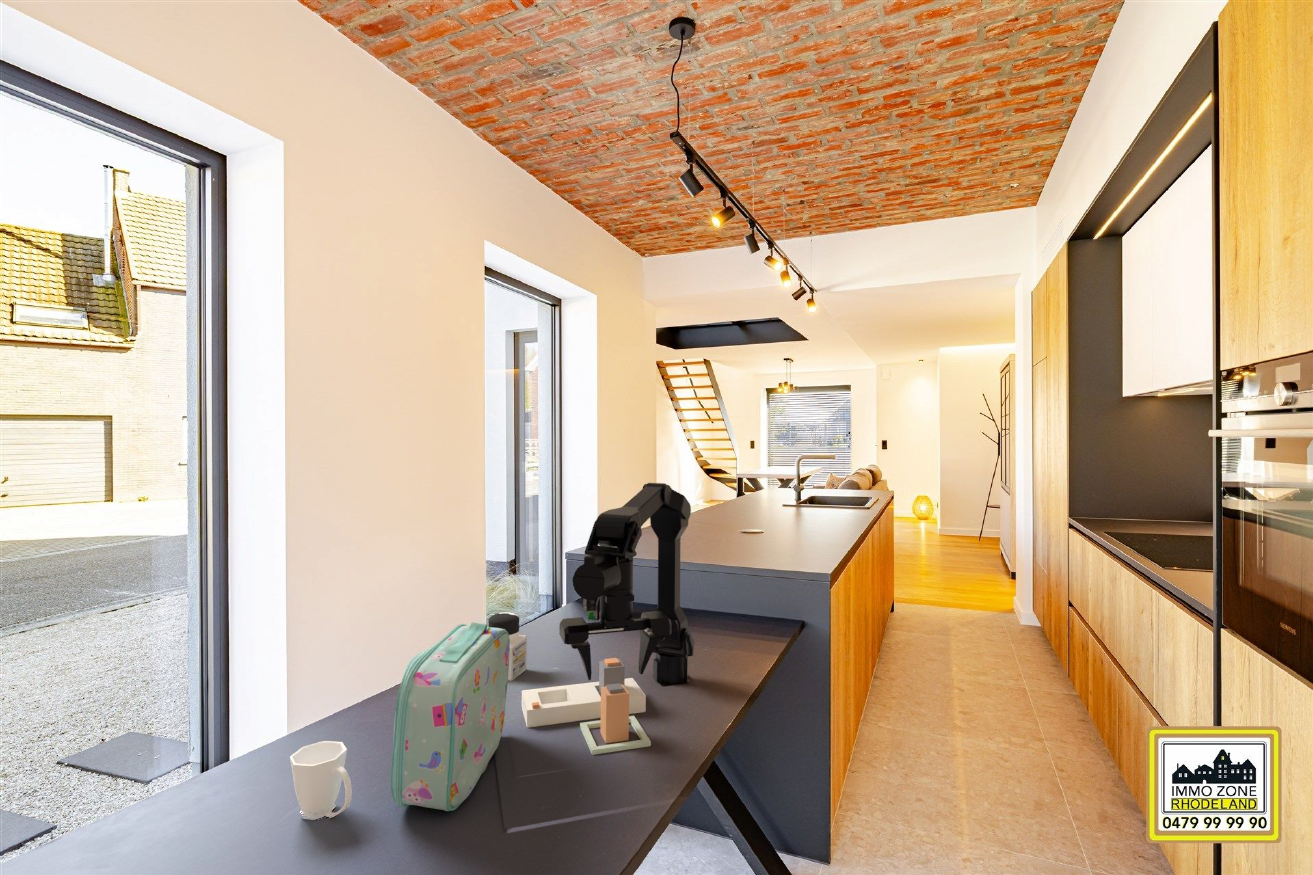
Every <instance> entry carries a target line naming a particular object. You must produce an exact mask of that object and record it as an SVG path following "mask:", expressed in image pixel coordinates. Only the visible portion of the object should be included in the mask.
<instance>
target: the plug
mask: <svg viewBox="0 0 1313 875" xmlns="http://www.w3.org/2000/svg"><path fill="white" fill-rule="evenodd" d="M629 716H630V714H629V692H628V691H627V689H626V688H625V686H624V685H623V684H622V685H621V684H620V683H617V684H609V685H607V686H605V687H601V718H600V720H601V721H600V727H599V728H600V732H599V733H600V735H601V737H602V739H603V741H604V743H605V744H613V743H618V742H619V743H620V742H624V741H625V742H627V741H629V739H630V738H629V735H630V733H629V732H630V730H629V729H630V723H629Z"/></svg>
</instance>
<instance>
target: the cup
mask: <svg viewBox="0 0 1313 875" xmlns="http://www.w3.org/2000/svg"><path fill="white" fill-rule="evenodd" d="M347 751H348V748H347V747H346V745H344V742H343V741H331V740H330V741H329V740H322V741H318V742H315V743H312V744H308V745H304V746H302V747H300V748H299V749H298V750H297V751H295V752H294V753H293V754H291V755H290V756H289V761H290V767H291V772H292V778H293V779H292V780H293V786H294V792H295V795H296V798H297V803H298V805H299V808H300V811H299V814H300V813H301V812H302V813H301V814H304V815H302V816H307V817H306V818H318V817H321V816H327V817H329V818H328V819H331V818H334V817H335V816H337V815H340V814H341V813H342V812H344V811H345V810H347V809H348V807H349V806H350V805H351V802H352V798H353V792H352V790H353V788H352V781H351V777H350V775H349V773H348V770H346V768H345V763H346V759H347V753H348V752H347ZM342 782H343V785H344V794H345V796H344V797H345V800H344V804H343V806H341V808H340V809H339V810H338V811H335V812H331V811H332V810H333V809H334V808H335V807H337V805H336V804H335V802H336V801H337V800H338V796H339V793H340V789H341V786H342ZM309 812H311V813H309ZM304 818H305V817H304Z"/></svg>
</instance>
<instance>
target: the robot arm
mask: <svg viewBox="0 0 1313 875" xmlns="http://www.w3.org/2000/svg"><path fill="white" fill-rule="evenodd" d="M691 512H692V508H691V504H690V501H689V500H688V499H687V497H686V496H685V495H684V494H681V493H680V492H678V491H676V490H674V489H673V488H672V486H670V484H667V483H663V482H661V483H660V482H648V483H645V484H644V485H643V487H642V489H640V491H638V492H637V493H636V494H635V495H634V496H633V497H632V498H631V499H630V500H628V501H627V502H626V503H625V504H624V505H622V506H621V507H618V508H617V507H616V508H611V509H607V510H606V511H603V512H602V513H600V514H599V515H598V516H597V517H596V519H595V521H594V522H593V525H592V526H593V527H592V528H591V532H590V535H589V537H588V540H587V543H586V547H585V550H584V555H585V556H584V557H583V564H581V565H579V566H578V567H577V568H576V569H575V571H574V573H573V576H572V586H573V590H574V591H575V592H576V594H577V596H579V597H580V598H582V600H583V601H582V605H583V608H582V609H583V612H584V613H588V612H594V617H596V619H595V620H598V622H596V621H595V622H586V620H585V619H584V617H569V618H568V617H567V618H562V619H561V621H560V622H559V631H558V632H559V636H560V639H561V640H562V642H563V644H565V645H568V646H569V645H570V648H572V649H575V650H576V649H577V651H578V654H579V655H580V659H581V662H582V665H583V669H584V672H585V675H586V678H587V681H591V680H592V672H593V671H592V660H591V659H592V658H591V657H592V656H591V644H590V643H589V641H588V639H589V637H590V636H591V635H599V634H601V635H602V634H611V633H612V634H613V633H623V632H634V631H639V638H640V640H639V641H640V642H639V643H640V644H639V652H638V653H639V654H638V674H640V675H643V674H644V672H645V670H646V668H647V665H648V663H649V661H650V658H651V656H652V655H653V653H654V654H655V657H654V658H653V662H652V663H653V664H652V669H653V670H652V672H653V673H652V677H653V679H654V680H655V682H657V683H658V684H659V685H660V686H661V687H671V686H680V685H688V684H691V681H690V680H689V679H688V669H689V668H688V667H689V666H688V665H689V664H688V659H689V658H688V657H693V656H694V650H695V639H694V637H693V635H692V633H691V631H690V629H689V626H688V625H689V624H688V622H689V621H688V617H687V615H686V613H685V612H684V610H683V608H682V607H681V538H682V536H683V535H684V533H685V531H686V530H687V528H688V526H689V520H690V518H691ZM648 520H649V521H650V522H649V524H650V527H651V529H652V531H653V532H654V534H655V537H656V538H657V607H656V609H655V611H654V610H653V611H643V612H641V615H640V618H633V616H634V615H633V611H634V610H633V609H634V607H633V604H634V603H633V602H635V594H634V593H633V592H634V557H637V554H638V553H637V551H636V548H637V547H638V546H637V545H638V543H639V541H640V539H641V537H642V536H643V533H642V526H643V525H644V524H645V523H646V522H647V521H648ZM607 546H610V547H607Z"/></svg>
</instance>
